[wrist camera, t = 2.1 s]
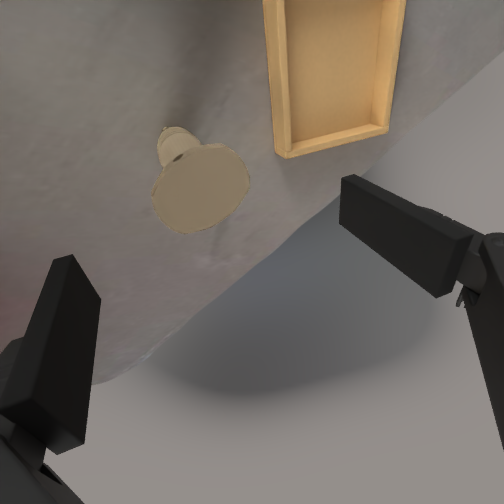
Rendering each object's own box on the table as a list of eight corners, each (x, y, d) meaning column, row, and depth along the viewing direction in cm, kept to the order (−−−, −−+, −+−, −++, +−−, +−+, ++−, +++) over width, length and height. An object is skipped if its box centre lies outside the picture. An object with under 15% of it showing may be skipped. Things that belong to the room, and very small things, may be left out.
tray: (258, -41, 25) (272, -52, 22) (390, -55, 27) (416, -66, 25) (274, 152, 34) (286, 159, 32) (371, 128, 37) (387, 133, 35)
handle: (211, 143, 31) (261, 193, 20) (163, 177, 32) (184, 246, 20) (184, 100, 28) (225, 129, 17) (132, 138, 29) (135, 193, 17)
